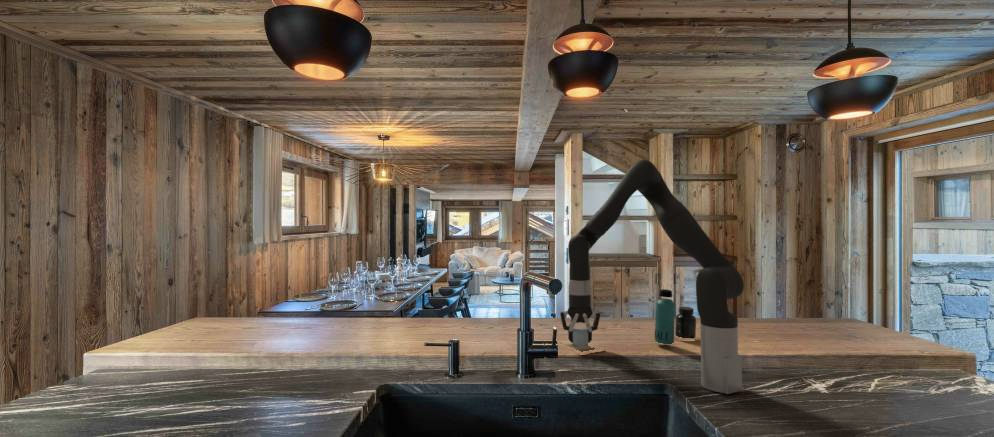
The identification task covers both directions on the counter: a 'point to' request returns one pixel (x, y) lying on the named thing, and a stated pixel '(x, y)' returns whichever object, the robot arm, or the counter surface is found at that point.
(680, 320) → the supplement bottle
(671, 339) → the beverage bottle
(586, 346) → the board
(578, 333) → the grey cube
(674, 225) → the robot arm
